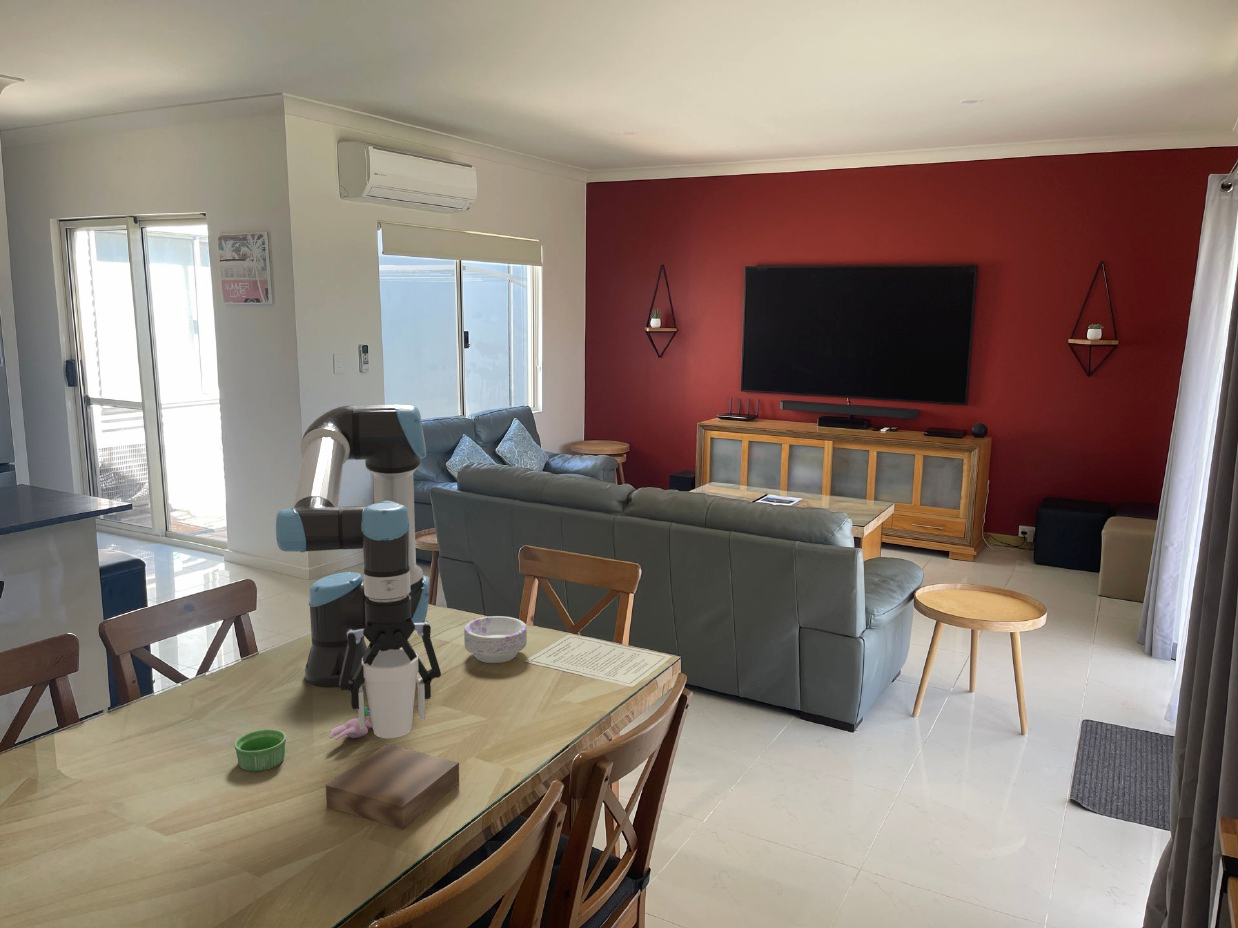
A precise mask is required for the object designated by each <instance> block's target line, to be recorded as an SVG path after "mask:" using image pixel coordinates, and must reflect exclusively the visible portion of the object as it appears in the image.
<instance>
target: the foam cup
mask: <svg viewBox="0 0 1238 928" xmlns="http://www.w3.org/2000/svg"><path fill="white" fill-rule="evenodd" d="M415 653H416V655H417V657H415V658H414V659H413V660H412V661H411V660H410V659H409V657H408V656H407V654H406V653H405V651H404V650H403V648H402V647H401V648H400V649H398V650H393V649H389V650H387V651H381V650H379V652H378V654H377V656H376V657H375V658H374V660H373V662H372V664H371V666H370V665H369V664H364V663H363V658H362V665H363V670H364V680H363V682H364V687H365V688H364V689H365V693H366V698H367V703H368V709H369V711H370V715H371V721H372V727H373V728H372V727H371V728H372V730H373V734H374V735H375V736H376V737H379V738H382V739H395V738H400V737H403V736H405V735H407V734H409V732H410V731H412V724H413V716H414V707H415V706H414V705H415V695H416V687H417V680H418V657H419V654H418V653H417V652H416V651H415Z"/></svg>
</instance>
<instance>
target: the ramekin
mask: <svg viewBox="0 0 1238 928" xmlns="http://www.w3.org/2000/svg"><path fill="white" fill-rule="evenodd" d="M286 741H287V735H286V733H285V732H284V731H282V730H280V729H275V728H273V729H272V728H265V729H258V730H253V731H250V732H247V733H245V734H243V735H240V737H238V738H237V739H236V740H235V741H234V750H235V751H236V758H237V763H238V767H239V768H241V769H242V770H244V771H245V772H262V771H266V770H270V769H273V768H275V767H277V766H279V765H281V764H282V762H283V761H284V759H285V757H286Z"/></svg>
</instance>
